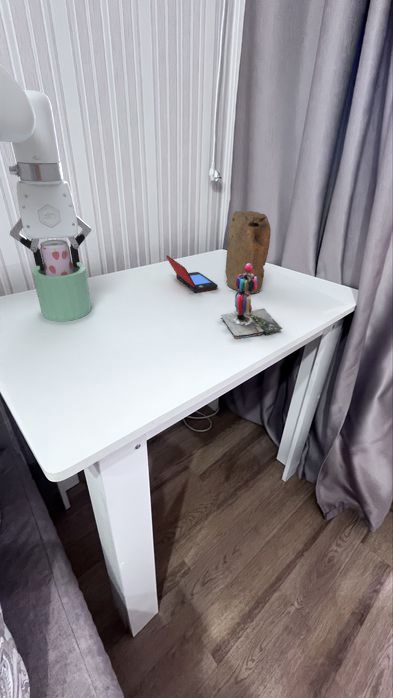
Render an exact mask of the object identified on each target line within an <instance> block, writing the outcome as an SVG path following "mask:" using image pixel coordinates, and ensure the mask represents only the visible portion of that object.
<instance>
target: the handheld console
mask: <svg viewBox="0 0 393 698" xmlns="http://www.w3.org/2000/svg"><path fill="white" fill-rule="evenodd" d="M165 257H166V259H167V261H168V262H169V264H170V266H171V267H172V269H173V271H174V273H175V275H176V276H175V277H176V279H177V280H179V282H181V283H182V284H184V285H186V286H187V287H188V288H189V289H190V290H191V291H192V292H194V293H199V292H206V291H211V290H216V289H218V287H219V285H218V284H217V283H216V282H215V281H213V280H211V279H210V278H208V277H207V276H205V275H204V274H202V273H201V272H200V271H192V272H188V270H187V268H185V266H183V265H182V264H181V263H179V262H177V260H175V259H174V258H172V257H170V256H169V255H166V256H165Z"/></svg>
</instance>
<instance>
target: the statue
mask: <svg viewBox="0 0 393 698" xmlns="http://www.w3.org/2000/svg"><path fill="white" fill-rule="evenodd" d="M245 271H246V273H244V274H243V275H242V274H240V275H238V276H237V279H236V287H237V290H240V291H237V290H236V293H235V295H234V307H235V312H229V313H224V314H223V313H222V314H220V317H221V318H220V319H221V321H222V322H225V324H226V325H227V330H229V331H231V333H232V334H233V339H234V340H237V339H242V338H243V339H245V338H246V339H247V338H249V337H256V336H260V335H262V334H263V335H264V336H266V337H267V336H269V335H273V333H274V332H276V331H277V332H279V331H280V330H283V327H282V326H281V325H280V324H279V323H278V322H277V321H276V320H275V319H274V318H273V317H272V315H271V314H270V313H269V312H268V311H267V309H266V308H265V307H263V308H258V309H255V310H253V308H252V299H251V293H250V292H251V291H253V290H256V289H257V280H258V277H257V276H256V275H255V276H254V275H253V274H250V273H251V271H252V265H251V264H250V263H248V264H246V266H245Z"/></svg>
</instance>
